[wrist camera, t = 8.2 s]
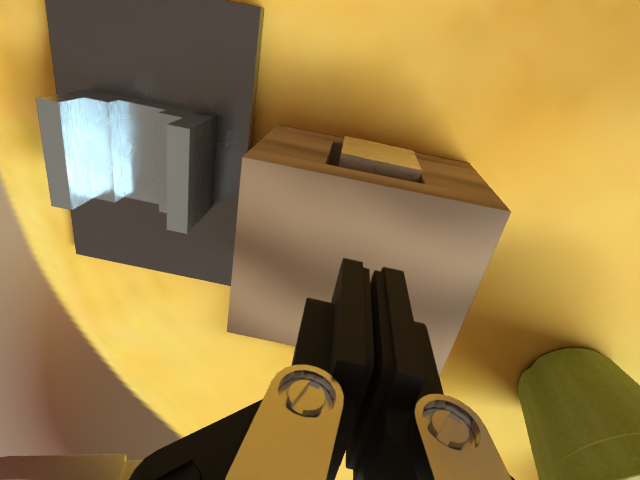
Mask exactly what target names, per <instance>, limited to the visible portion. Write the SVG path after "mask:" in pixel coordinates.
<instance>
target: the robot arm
mask: <svg viewBox="0 0 640 480" xmlns="http://www.w3.org/2000/svg"><path fill="white" fill-rule="evenodd" d="M345 451H346V468H348V469H353V480H515V479H514V478H513V477H511V476H510V475H509V473H508V471H507V469H506V467H505V465H504V463H503V461H502V459H501V457H500V455H499V453H498V451H497V449H496V447H495V445H494V443H493V441H492V439H491V437H490V435H489V433H488V431H487V429H486V427H485V425H484V424H483V422H482V421H481V419H480V417H479V416H478V415H477V414H476V413H475V412H474V411H473V410H472V409H471V408H470V407H468V406H467V405H465V404H464V403H462V402H461V401H459V400H457V399H455V398H452V397H450V396H447V395H444V394H443V390H442V386H441V382H440V378H439V374H438V370H437V366H436V362H435V358H434V354H433V350H432V346H431V342H430V338H429V334H428V330H427V327H426V325H425V324H424V323H420V322H416V321H414V318H413V313H412V309H411V304H410V299H409V294H408V289H407V285H406V280H405V275H404V271H401V270H396V269H392V268H387V267H383V268H382V269H381V271H377V270H375V271H374V272H373V275H372V278H371V281H370V270H369V269H368V268H364V267H363V262H360V261H356V260H351V259H347V258H343V259H342V263H341V266H340V270H339V274H338V277H337V281H336V285H335V289H334V293H333V296H332V300H331V303H330V302H326V301H321V300H317V299H312V298H308V297H307V299H306V303H305V307H304V311H303V316H302V320H301V324H300V329H299V333H298V338H297V343H296V347H295V352H294V357H293V361H292V366H289V367H286V368H284V369H283V370H281V371H280V372H278V373H277V374H276V376H275V377H274V378H273V380H272V381H271V383H270V386H269V388H268V390H267V392H266V394H265V396H264V398H263V399H262V400H260V401H258V402H256V403H254V404H252V405H250V406H248V407H246V408H244V409H242V410H239V411H237V412H235V413H233V414H231V415H229V416H227V417H225V418H223V419H221V420H219V421H217V422H215V423H213V424H211V425H208V426H206V427H204V428H202V429H200V430H198V431H196V432H194V433H192V434H190V435H188V436H186V437H184V438H182V439H180V440H178V441H175V442H173V443H171V444H169V445H167V446H165V447H163V448H161V449H159V450H157V451H156V452H154V453H152V454H151V455H149V456H148V457H146V458H145V459H144V460H127V461H126V454H112V455H46V456H6V457H0V480H335V477H336V474H337V471H338V469H339V466H340V464H341V462H342V459H343V456H344V453H345Z"/></svg>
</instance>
